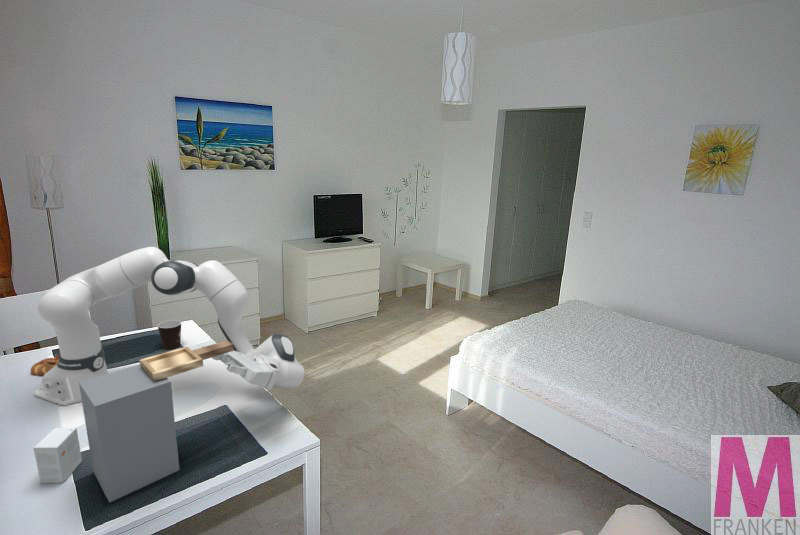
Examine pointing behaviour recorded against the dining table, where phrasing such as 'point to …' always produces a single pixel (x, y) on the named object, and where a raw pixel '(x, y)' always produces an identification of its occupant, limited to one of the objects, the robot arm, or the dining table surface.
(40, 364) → the pretzel
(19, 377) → the dining table surface
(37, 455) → the small box
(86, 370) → the robot arm
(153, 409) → the tall grey pillar block
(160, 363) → the oak tray
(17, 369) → the dining table surface
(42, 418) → the dining table surface
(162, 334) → the coffee mug
